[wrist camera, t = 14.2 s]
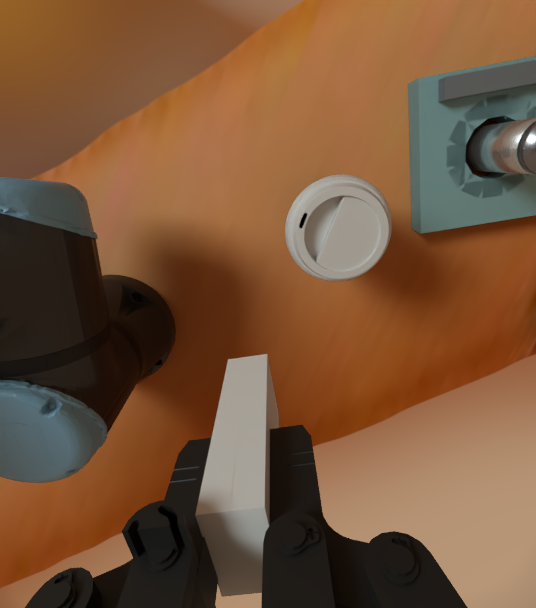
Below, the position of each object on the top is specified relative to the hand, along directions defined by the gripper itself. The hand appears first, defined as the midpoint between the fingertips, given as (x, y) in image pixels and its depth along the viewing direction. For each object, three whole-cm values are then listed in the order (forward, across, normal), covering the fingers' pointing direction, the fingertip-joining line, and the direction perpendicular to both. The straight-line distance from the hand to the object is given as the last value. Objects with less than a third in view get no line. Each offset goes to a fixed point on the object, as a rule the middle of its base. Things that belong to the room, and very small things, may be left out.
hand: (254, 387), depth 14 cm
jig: (+34, +26, +5) cm, 43 cm away
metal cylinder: (+34, +26, +5) cm, 43 cm away
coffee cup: (+35, +7, +1) cm, 35 cm away
